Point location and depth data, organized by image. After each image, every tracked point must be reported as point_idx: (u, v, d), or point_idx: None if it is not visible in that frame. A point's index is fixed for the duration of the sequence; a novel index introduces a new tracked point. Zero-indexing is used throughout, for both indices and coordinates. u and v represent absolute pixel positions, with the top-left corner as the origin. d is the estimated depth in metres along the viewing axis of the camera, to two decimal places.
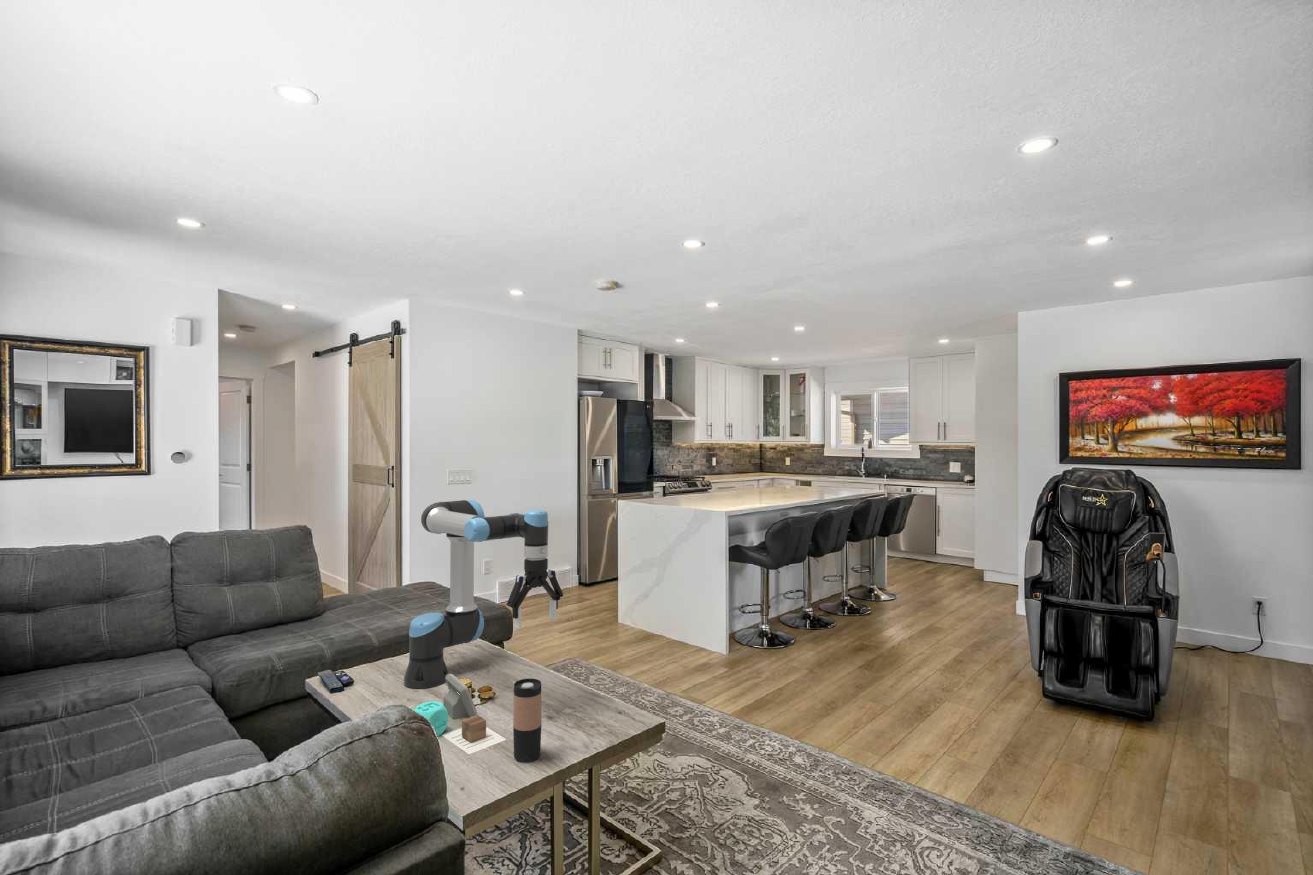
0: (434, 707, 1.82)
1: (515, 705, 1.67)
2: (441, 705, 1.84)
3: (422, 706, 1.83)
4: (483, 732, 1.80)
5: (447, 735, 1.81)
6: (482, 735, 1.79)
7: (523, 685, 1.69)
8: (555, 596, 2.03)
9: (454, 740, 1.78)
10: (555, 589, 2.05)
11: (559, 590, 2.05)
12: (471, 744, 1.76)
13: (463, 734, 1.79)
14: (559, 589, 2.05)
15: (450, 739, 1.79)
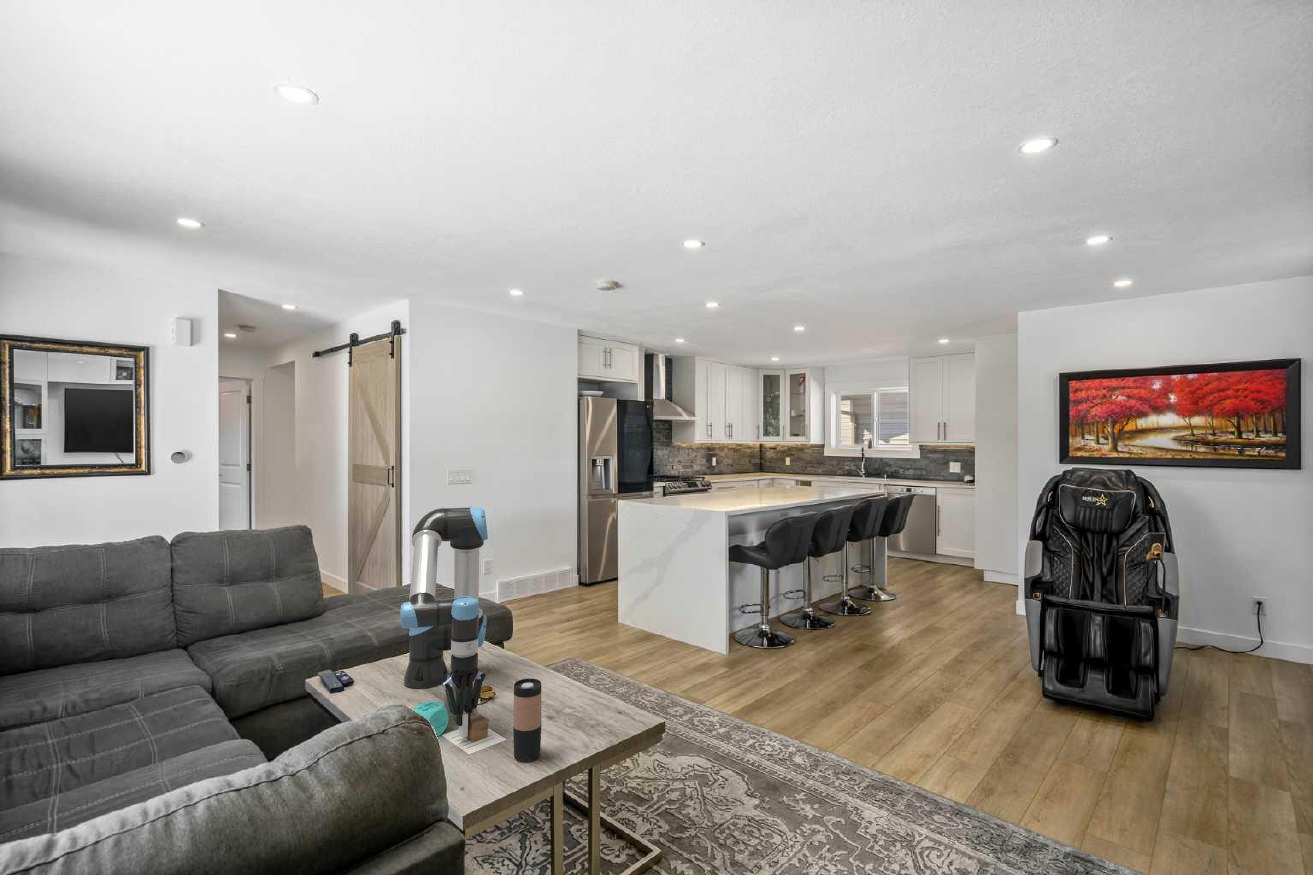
0: (434, 707, 1.82)
1: (515, 705, 1.67)
2: (441, 705, 1.84)
3: (422, 706, 1.83)
4: (485, 731, 1.80)
5: (447, 735, 1.81)
6: (484, 734, 1.80)
7: (523, 685, 1.69)
8: (469, 707, 1.78)
9: (454, 740, 1.78)
10: (473, 696, 1.80)
11: (476, 699, 1.79)
12: (471, 744, 1.76)
13: None
14: (477, 698, 1.80)
15: (450, 739, 1.79)
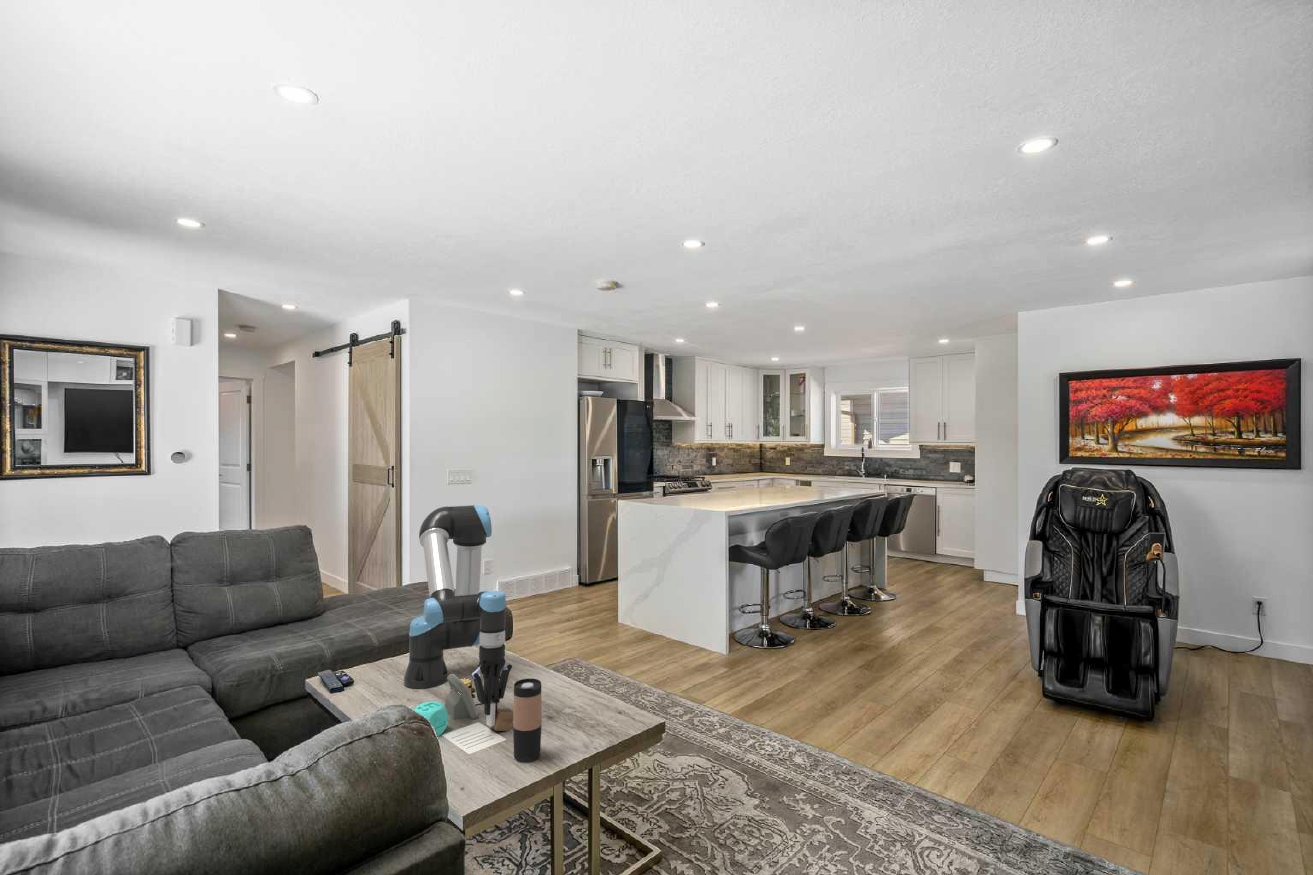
0: (434, 707, 1.82)
1: (515, 705, 1.67)
2: (441, 705, 1.84)
3: (422, 706, 1.83)
4: (509, 724, 1.85)
5: (447, 735, 1.81)
6: (507, 727, 1.84)
7: (523, 685, 1.69)
8: (496, 697, 1.84)
9: (454, 740, 1.78)
10: (500, 686, 1.86)
11: (503, 689, 1.85)
12: (471, 744, 1.76)
13: None
14: (504, 688, 1.86)
15: (450, 739, 1.79)
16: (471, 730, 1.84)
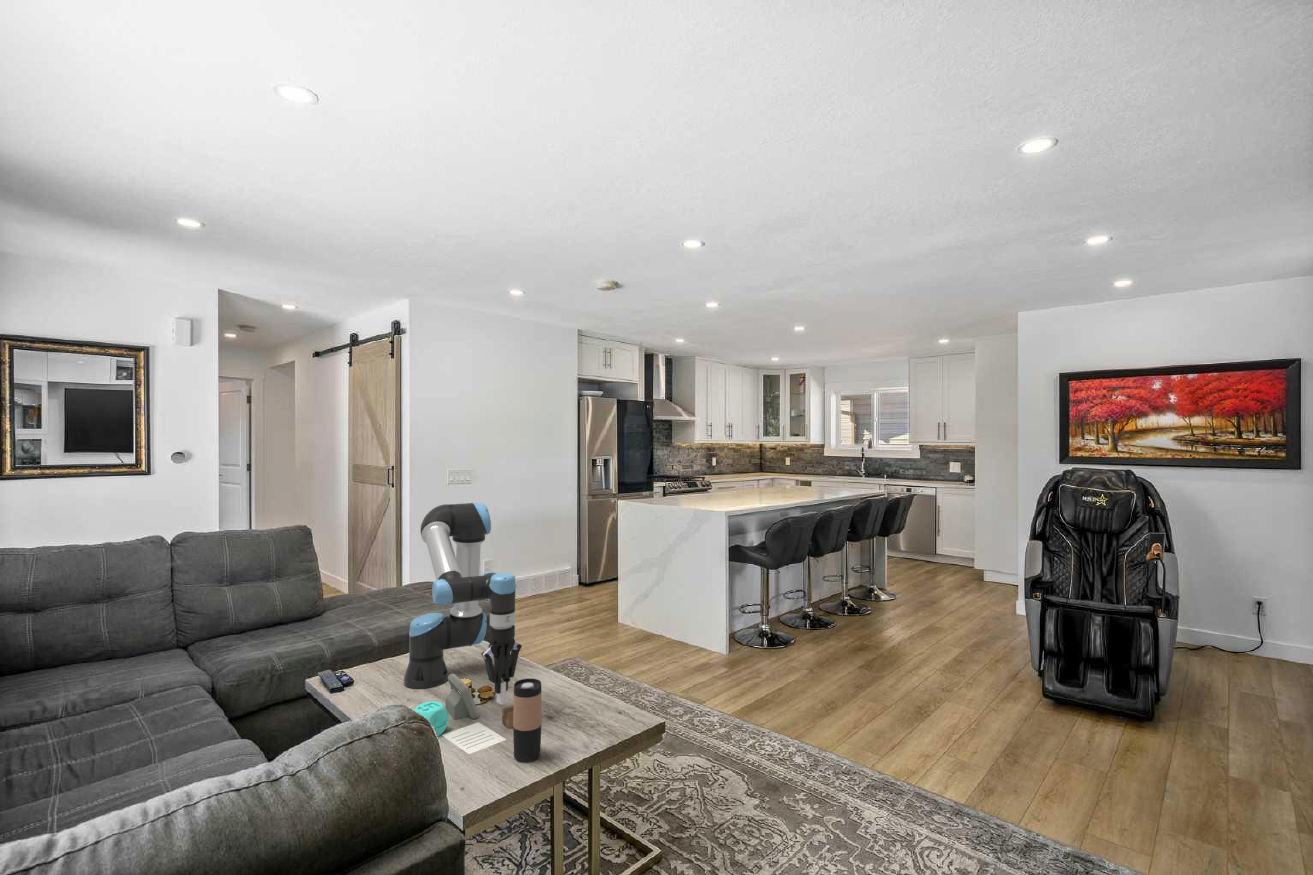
0: (434, 707, 1.82)
1: (515, 705, 1.67)
2: (441, 705, 1.84)
3: (422, 706, 1.83)
4: None
5: (447, 735, 1.81)
6: None
7: (523, 685, 1.69)
8: (506, 676, 1.87)
9: (454, 740, 1.78)
10: (510, 665, 1.90)
11: (513, 668, 1.89)
12: (471, 744, 1.76)
13: (503, 721, 1.89)
14: (514, 667, 1.89)
15: (450, 739, 1.79)
16: (471, 730, 1.84)
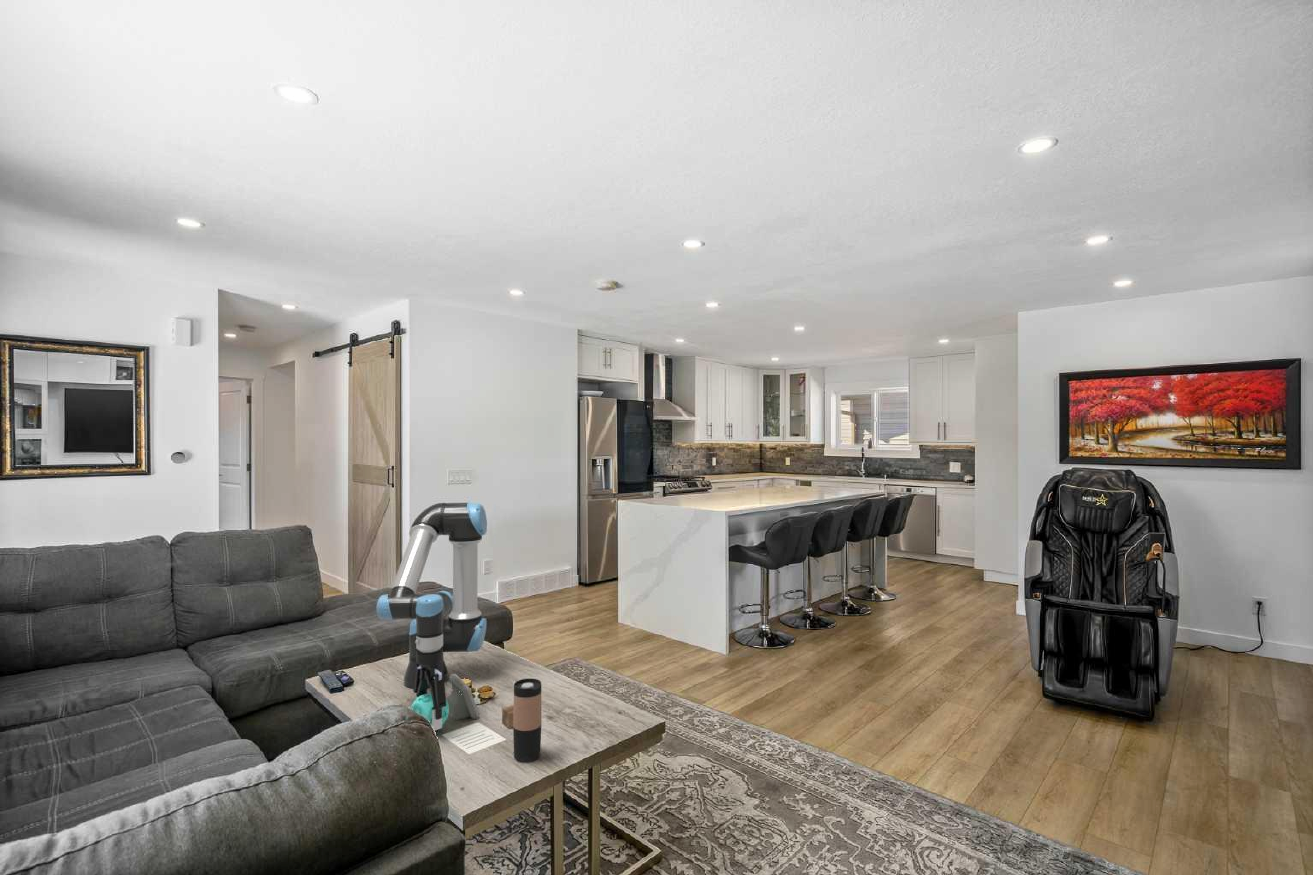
0: None
1: (515, 705, 1.67)
2: None
3: (423, 697, 1.84)
4: None
5: (447, 735, 1.81)
6: None
7: (523, 685, 1.69)
8: (433, 703, 1.79)
9: (454, 740, 1.78)
10: None
11: (436, 699, 1.78)
12: (471, 744, 1.76)
13: (503, 721, 1.89)
14: (436, 698, 1.78)
15: (450, 739, 1.79)
16: (471, 730, 1.84)
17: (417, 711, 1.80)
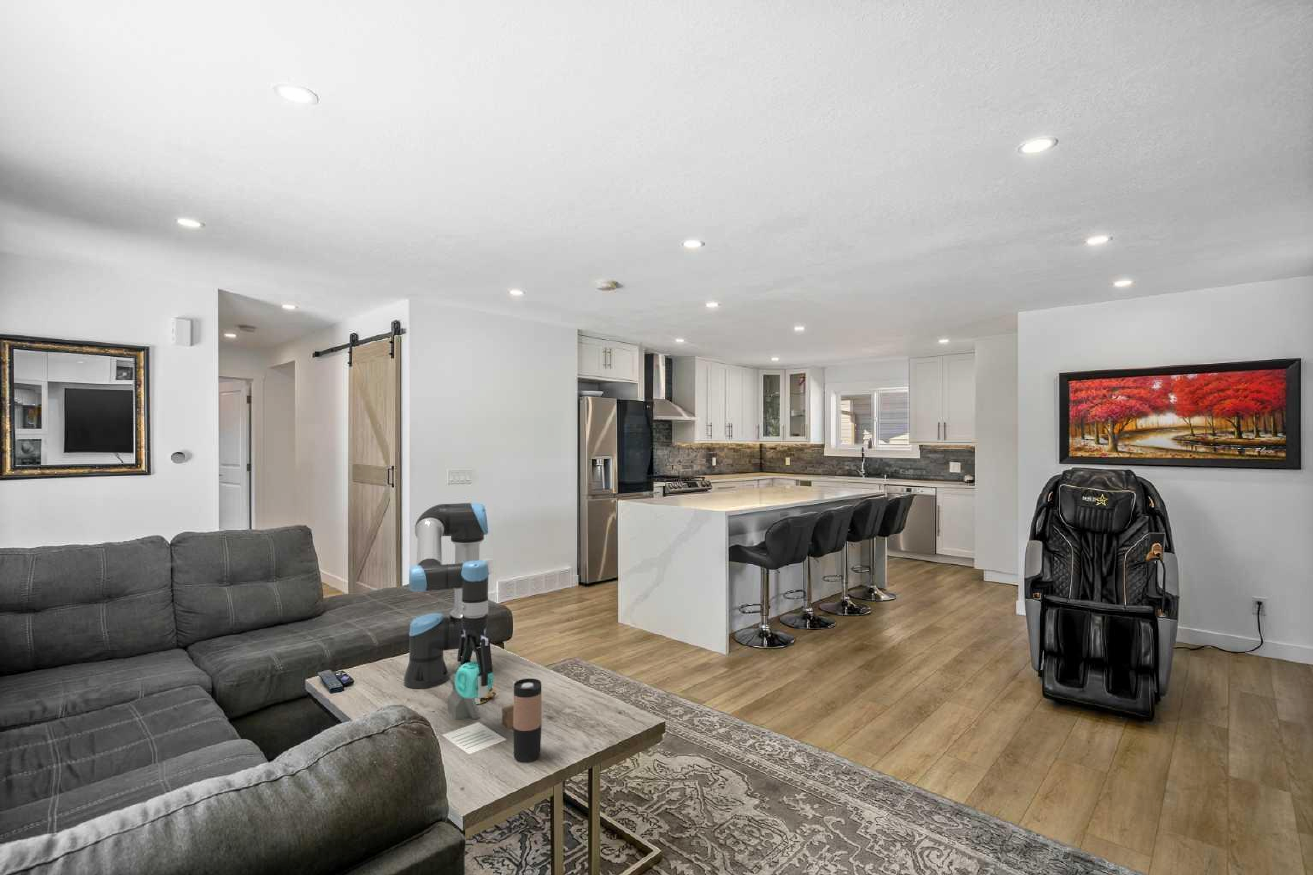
0: None
1: (515, 705, 1.67)
2: None
3: (467, 665, 1.81)
4: None
5: (447, 735, 1.81)
6: None
7: (523, 685, 1.69)
8: (479, 669, 1.76)
9: (454, 740, 1.78)
10: None
11: (483, 665, 1.75)
12: (471, 744, 1.76)
13: (503, 721, 1.89)
14: (483, 664, 1.75)
15: (450, 739, 1.79)
16: (471, 730, 1.84)
17: (462, 678, 1.77)
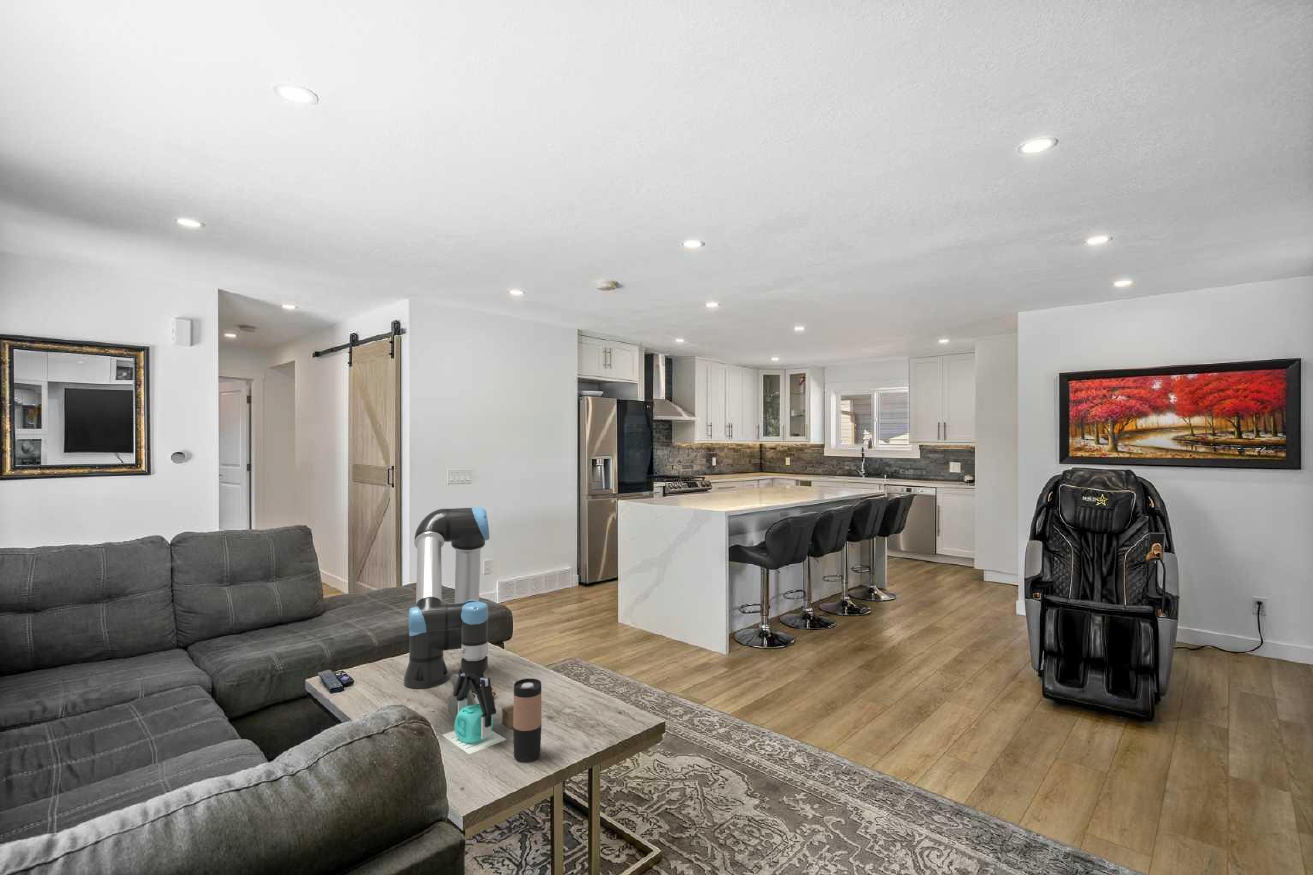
0: (479, 710, 1.80)
1: (515, 705, 1.67)
2: None
3: (467, 709, 1.81)
4: None
5: (447, 735, 1.81)
6: None
7: (523, 685, 1.69)
8: (482, 711, 1.75)
9: (454, 740, 1.78)
10: None
11: (485, 706, 1.73)
12: (471, 744, 1.76)
13: (503, 721, 1.89)
14: (485, 705, 1.73)
15: (450, 739, 1.79)
16: None
17: (462, 723, 1.77)
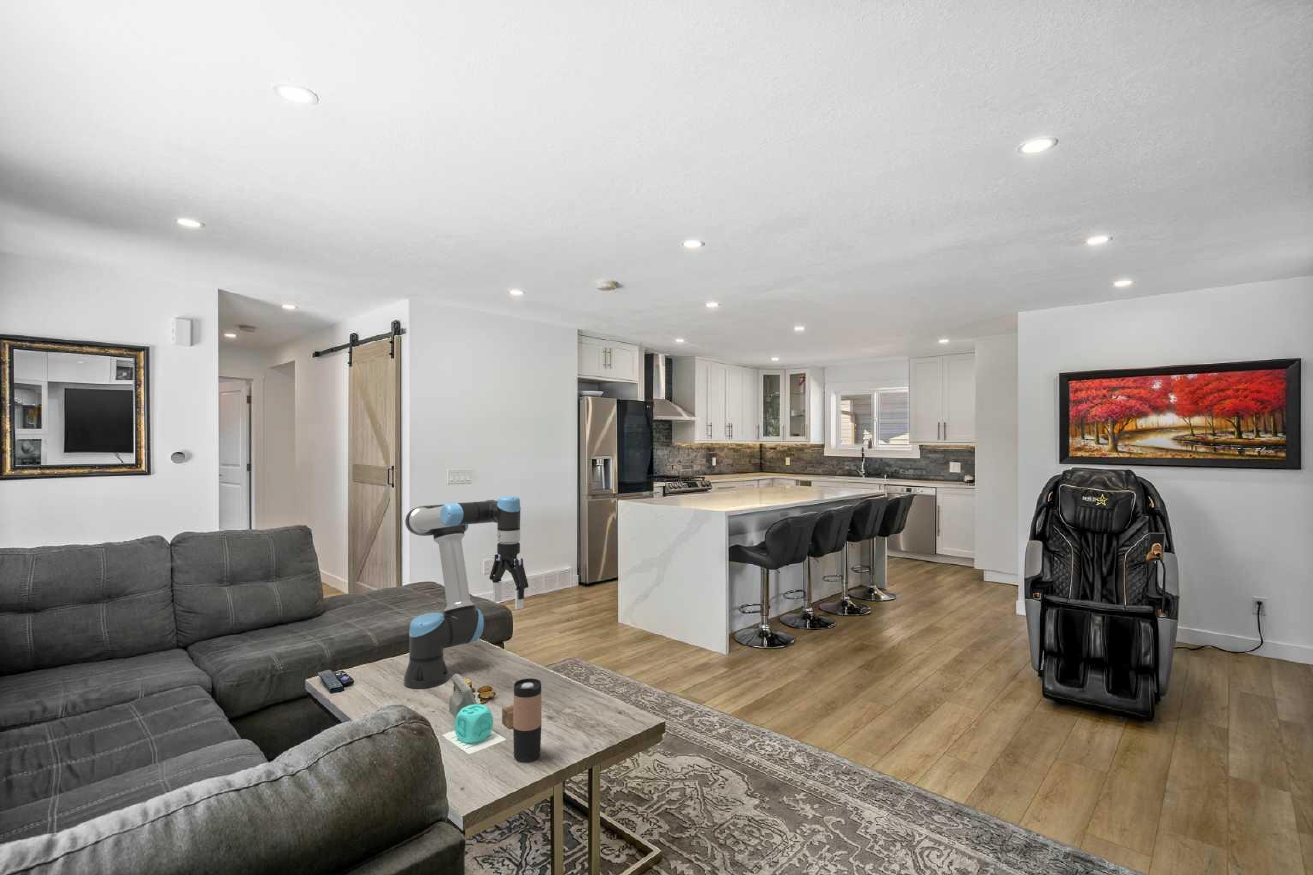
0: (479, 710, 1.80)
1: (515, 705, 1.67)
2: (486, 708, 1.81)
3: (467, 709, 1.81)
4: None
5: (447, 735, 1.81)
6: None
7: (523, 685, 1.69)
8: (516, 585, 2.03)
9: (454, 740, 1.78)
10: None
11: (519, 581, 2.01)
12: (471, 744, 1.76)
13: (503, 721, 1.89)
14: (519, 580, 2.01)
15: (450, 739, 1.79)
16: None
17: (462, 723, 1.77)
